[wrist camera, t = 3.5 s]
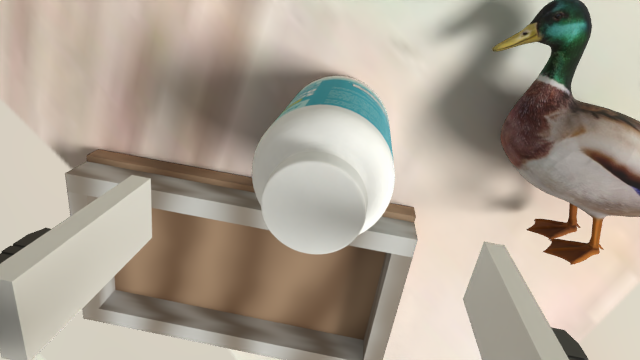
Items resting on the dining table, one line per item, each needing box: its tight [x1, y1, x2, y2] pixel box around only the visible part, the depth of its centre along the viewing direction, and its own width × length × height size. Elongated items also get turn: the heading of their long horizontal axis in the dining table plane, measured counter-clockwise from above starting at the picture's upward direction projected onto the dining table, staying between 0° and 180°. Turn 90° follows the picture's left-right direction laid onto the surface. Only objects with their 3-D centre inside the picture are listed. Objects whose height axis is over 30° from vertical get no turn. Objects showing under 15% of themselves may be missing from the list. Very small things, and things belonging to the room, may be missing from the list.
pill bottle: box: [252, 76, 395, 254], centre depth 23 cm, size 8×7×14 cm
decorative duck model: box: [492, 0, 640, 264], centre depth 24 cm, size 15×8×15 cm
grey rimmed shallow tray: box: [65, 149, 417, 360], centre depth 33 cm, size 26×15×4 cm, turn 81°
